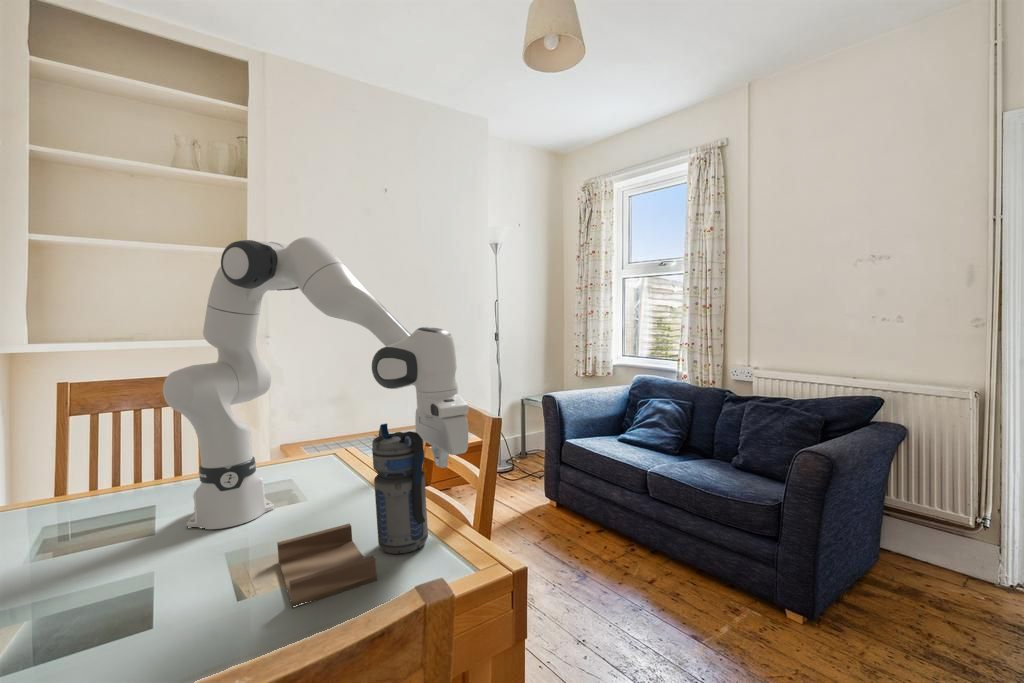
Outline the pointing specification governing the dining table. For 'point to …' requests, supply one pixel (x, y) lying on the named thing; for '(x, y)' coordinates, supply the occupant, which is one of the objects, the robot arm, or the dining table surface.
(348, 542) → the walnut cradle
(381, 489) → the beverage bottle
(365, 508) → the dining table surface
